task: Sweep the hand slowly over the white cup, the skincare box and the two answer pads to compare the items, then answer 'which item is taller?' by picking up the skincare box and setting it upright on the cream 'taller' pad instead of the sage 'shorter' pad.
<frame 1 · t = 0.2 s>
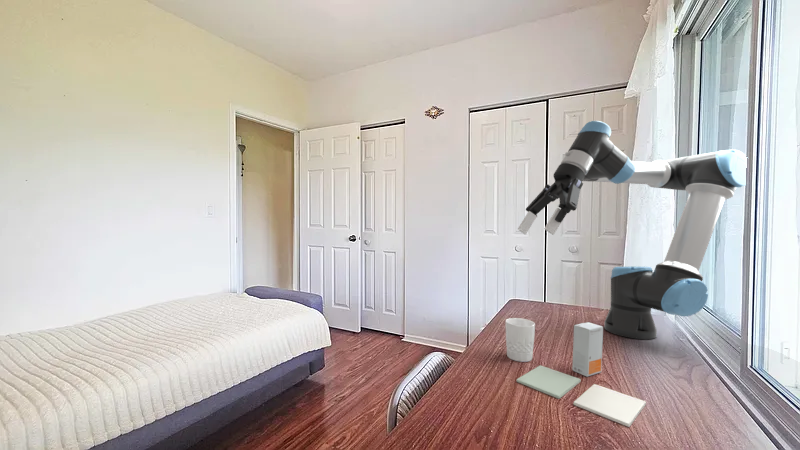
hand: (534, 231, 94), 35 cm above the table, tool tilted 35°, fingers open, 13 cm apart
white cup: (519, 357, 95), on the table
taller pad: (609, 404, 71), on the table
skincare box: (587, 372, 87), on the table
shorter pad: (548, 381, 81), on the table
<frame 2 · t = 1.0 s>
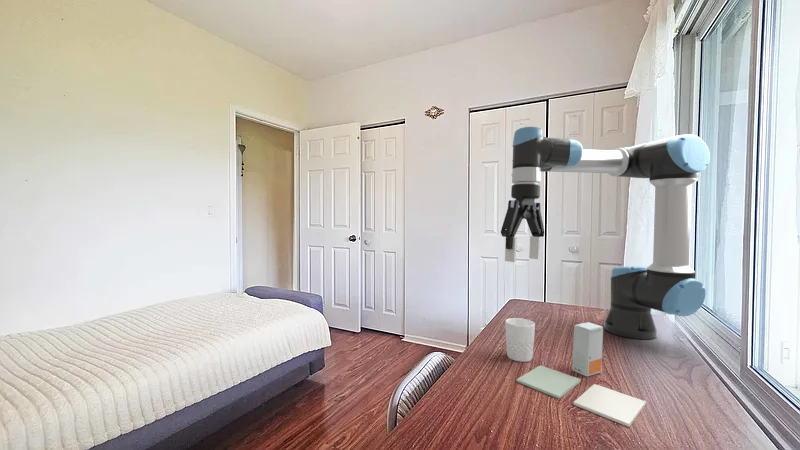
hand: (522, 260, 95), 27 cm above the table, tool pointing down, fingers open, 13 cm apart
nothing on the table moved.
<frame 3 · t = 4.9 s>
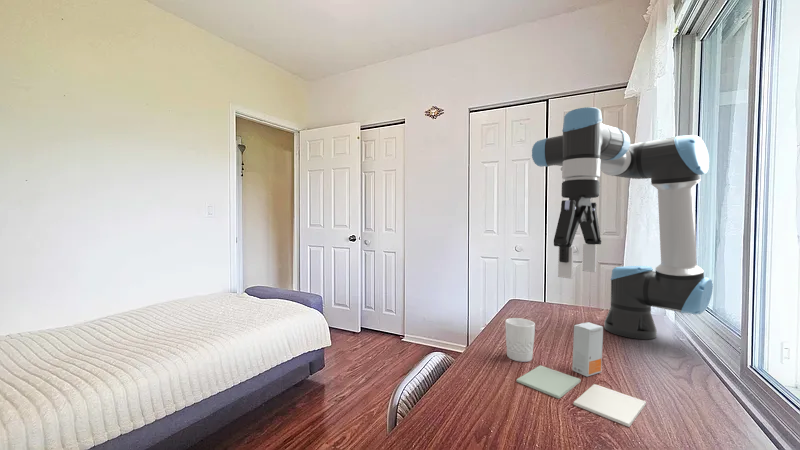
hand: (578, 274, 76), 27 cm above the table, tool pointing down, fingers open, 13 cm apart
nothing on the table moved.
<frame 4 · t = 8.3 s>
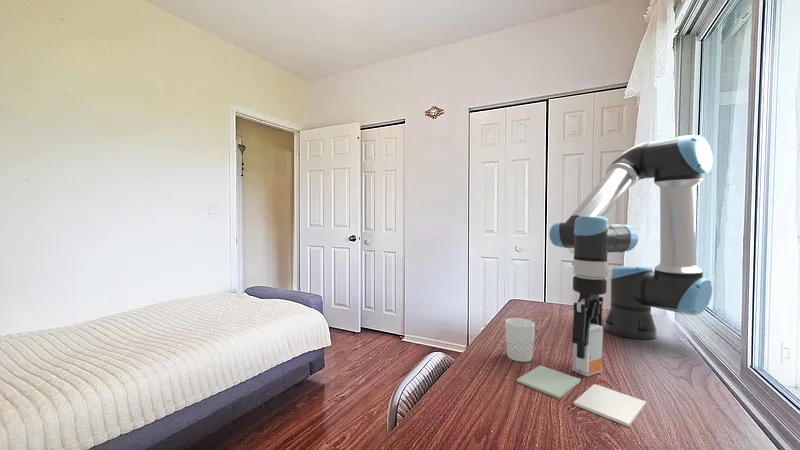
hand: (587, 365, 87), 2 cm above the table, tool pointing down, fingers closed on skincare box, 7 cm apart
skincare box: (587, 372, 87), on the table, touching gripper
everything else where it was.
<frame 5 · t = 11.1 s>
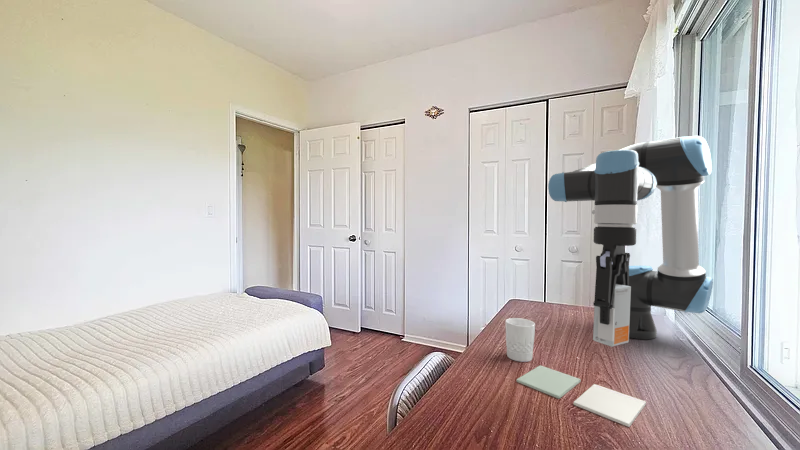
hand: (611, 334, 71), 15 cm above the table, tool pointing down, fingers closed on skincare box, 7 cm apart
skincare box: (611, 342, 71), point 13 cm above the table, touching gripper
everything else where it was.
when the fingers open (4 cm above the table, at t = 14.0 s): skincare box drops 1 cm, resting on taller pad.
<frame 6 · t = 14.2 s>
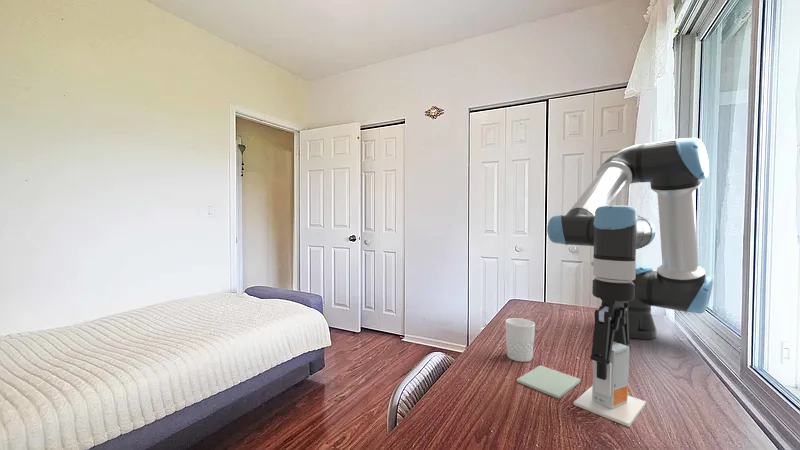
hand: (610, 385, 71), 4 cm above the table, tool pointing down, fingers open, 9 cm apart
skincare box: (610, 402, 71), resting on taller pad
everything else where it was.
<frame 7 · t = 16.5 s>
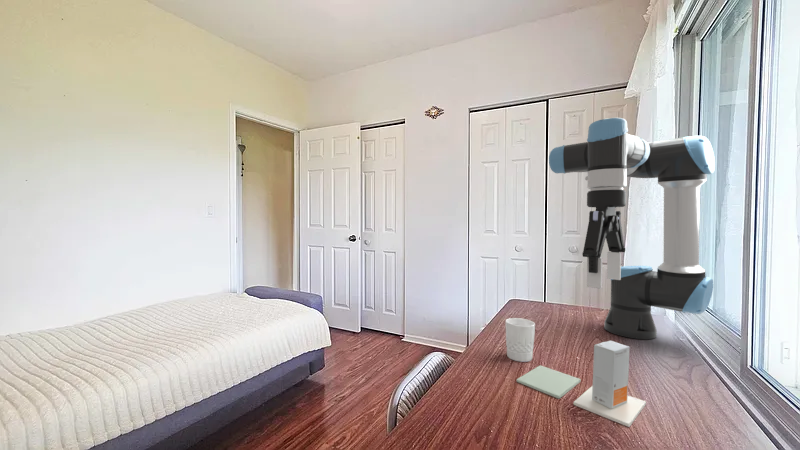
hand: (604, 283, 77), 25 cm above the table, tool pointing down, fingers open, 13 cm apart
nothing on the table moved.
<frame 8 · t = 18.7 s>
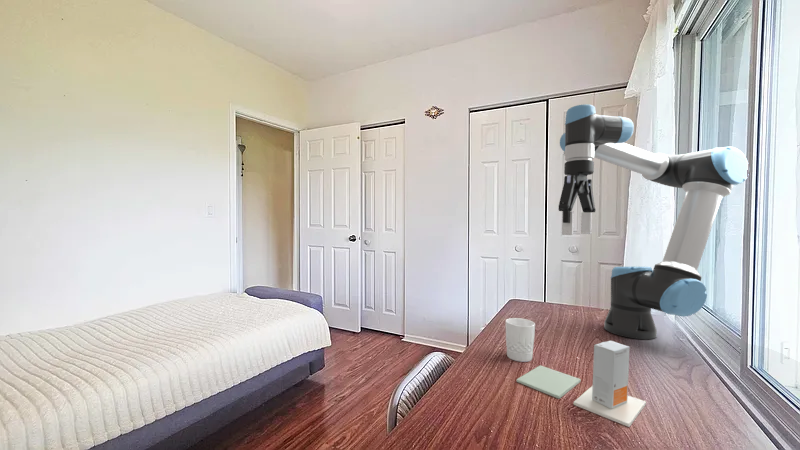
hand: (577, 234, 98), 35 cm above the table, tool pointing down, fingers open, 13 cm apart
nothing on the table moved.
at the end: skincare box inside the target area on the taller pad (0.2 cm from its centre), point 0.4 cm above the taller pad's base; skincare box tilted 0°; the gripper is holding nothing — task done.
